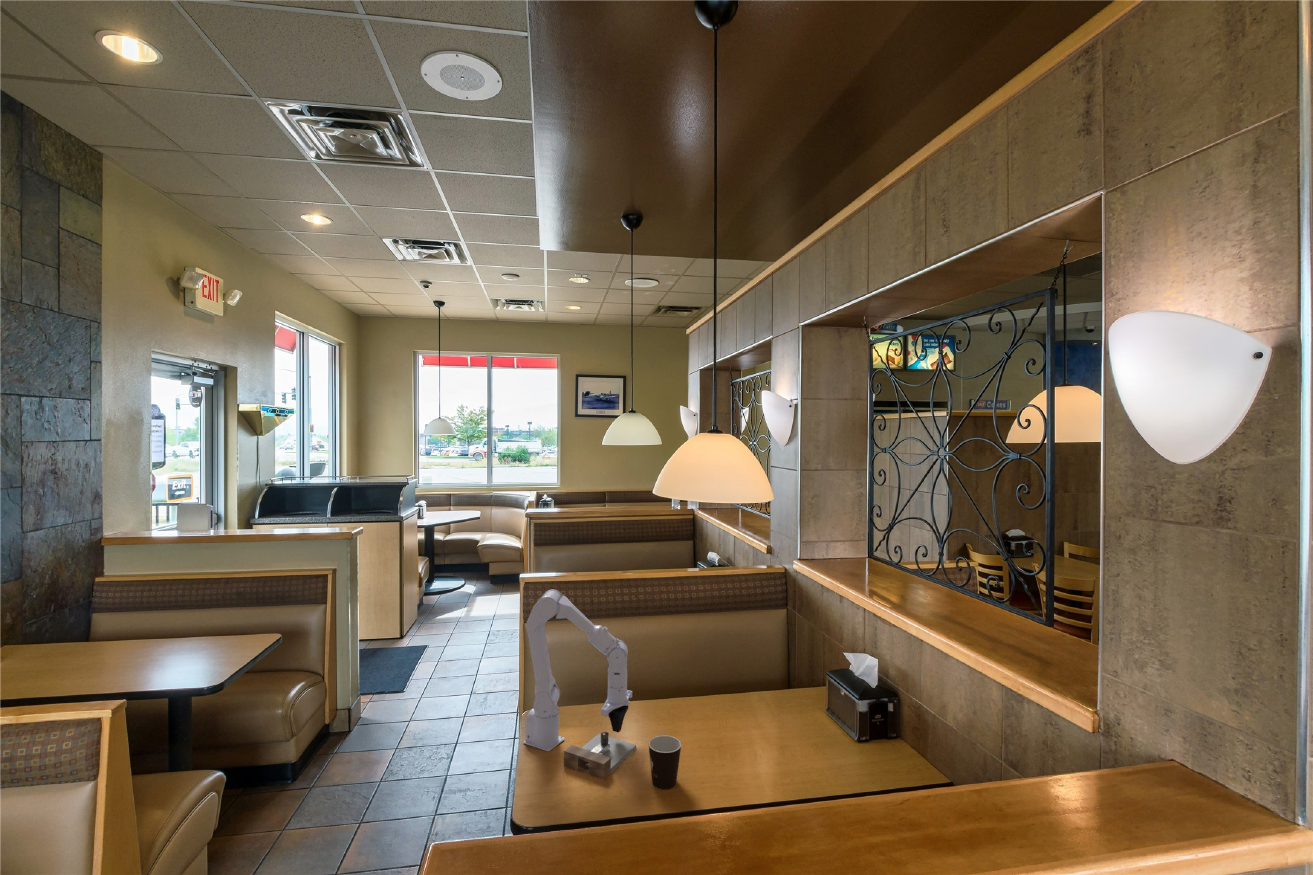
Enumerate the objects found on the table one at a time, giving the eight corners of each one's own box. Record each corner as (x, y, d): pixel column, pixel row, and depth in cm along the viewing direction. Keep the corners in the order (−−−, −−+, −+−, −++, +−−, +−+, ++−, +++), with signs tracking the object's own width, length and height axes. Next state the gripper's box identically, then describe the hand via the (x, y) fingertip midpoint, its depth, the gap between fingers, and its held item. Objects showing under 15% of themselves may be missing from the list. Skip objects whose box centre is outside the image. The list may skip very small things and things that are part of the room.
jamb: (563, 766, 153) (563, 750, 153) (571, 760, 156) (571, 744, 156) (603, 779, 147) (603, 763, 147) (610, 773, 150) (610, 757, 150)
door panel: (571, 760, 156) (571, 748, 156) (598, 737, 169) (598, 726, 169) (610, 773, 150) (610, 761, 150) (636, 748, 163) (636, 737, 163)
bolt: (588, 758, 155) (589, 742, 155) (602, 746, 161) (603, 730, 161) (596, 760, 153) (596, 744, 154) (609, 748, 160) (610, 732, 160)
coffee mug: (677, 794, 142) (678, 754, 142) (644, 789, 143) (645, 750, 143) (684, 768, 153) (685, 731, 153) (653, 764, 155) (654, 728, 155)
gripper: (616, 696, 157) (615, 745, 157) (641, 678, 170) (640, 723, 170) (595, 691, 160) (594, 739, 160) (621, 673, 173) (620, 717, 173)
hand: (616, 730), depth 165 cm, fingers closed
